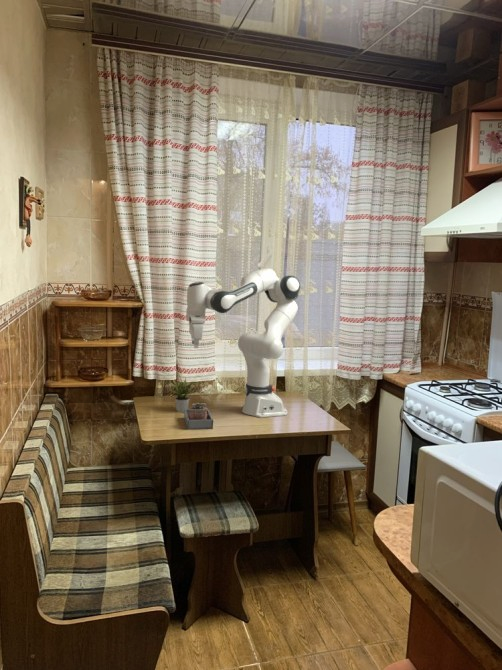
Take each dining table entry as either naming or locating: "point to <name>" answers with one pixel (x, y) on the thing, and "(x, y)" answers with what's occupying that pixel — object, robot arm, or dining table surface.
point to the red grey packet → (198, 412)
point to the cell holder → (198, 421)
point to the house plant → (182, 395)
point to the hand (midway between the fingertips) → (194, 346)
